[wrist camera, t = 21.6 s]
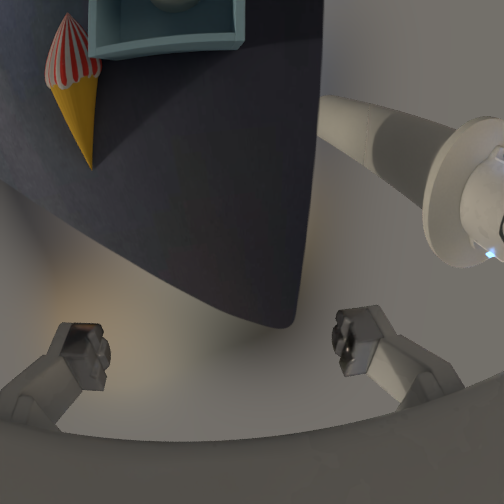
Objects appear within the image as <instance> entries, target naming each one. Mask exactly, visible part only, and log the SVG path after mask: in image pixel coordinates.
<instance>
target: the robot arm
mask: <svg viewBox="0 0 504 504" xmlns="http://www.w3.org/2000/svg"><path fill="white" fill-rule="evenodd" d="M460 220H461V224H462V226H463V228H464V230H465V231H466V233H467V234H468V235H469V239H470V244H471V247H473V248H474V249H476V250H477V249H480V248H484V249H485V250H487V251H488V253H486V255H487V256H488V257H489V258H490V257H493V256H495V257H496V258H497V259H499V260H500V261H502V262H504V147H502V146H500V145H498V146H496V147H495V148H494V150H493V151H492V153H491V155H490V156H489V157H488V158H487V159H486V160H485V161H484V162H482V163H481V164H480V165H479V166H478V167H477V168H476V169H475V170H474V171H473V173H472V174H471V176H470V177H469V179H468V181H467V183H466V185H465V188H464V190H463V194H462V197H461V203H460ZM335 319H336V321H337V325H336V326H335V327H334V328H333V332H332V345H333V349H334V351H335V353H336V354H337V355H338V356H340V357H341V358H340V361H339V364H340V367H341V369H342V371H343V374H344V376H345V377H347V376H354V375H360V374H366V373H367V374H366V375H368V376H369V377H370V378H371V379H372V380H373V381H375V382H376V383H377V384H378V385H379V386H381V387H382V388H383V389H384V390H385V391H386V392H388V393H389V394H390V395H391V396H392V397H394V398H395V399H396V400H397V401H398V402H400V405H399V406H398V408H397V410H396V411H395V412H393V413H389V414H386V415H382V416H378V417H374V418H370V419H366V420H362V421H358V422H354V423H349V424H345V425H340V426H335V427H330V428H324V429H319V430H313V431H307V432H301V433H294V434H287V435H280V436H272V437H262V438H252V439H240V440H225V441H201V442H159V441H136V440H122V439H111V438H101V437H92V436H84V435H77V434H71V433H64V432H61V431H60V430H59V428H58V427H57V426H56V425H55V424H56V422H57V421H58V420H59V419H60V417H61V416H62V415H63V414H64V413H65V411H66V410H67V409H68V408H69V406H71V404H72V403H73V402H74V401H75V399H76V398H77V397H78V396H79V395H80V394H81V392H82V390H92V391H103V390H104V386H105V382H106V378H107V376H106V373H105V370H106V369H107V368H108V367H109V365H110V360H111V352H110V346H109V343H108V341H107V340H106V339H105V338H103V337H102V336H103V333H104V331H103V329H102V327H101V325H100V324H94V323H65V322H64V323H63V322H62V323H61V324H60V325H59V327H58V329H57V331H56V334H55V336H54V338H53V340H52V343H51V345H50V347H49V350H48V352H47V355H42V356H41V357H40V358H39V359H37V360H36V361H35V362H34V363H32V364H31V365H30V366H29V367H28V368H26V369H25V370H24V371H23V372H22V373H20V374H19V375H18V376H17V377H15V378H14V379H13V380H12V381H11V382H10V383H8V384H7V385H6V386H5V387H4V388H3V389H1V391H0V504H504V371H503V372H501V373H499V374H497V375H494V376H492V377H490V378H488V379H486V380H483V381H481V382H479V383H476V384H474V385H472V386H469V387H466V388H465V387H464V385H463V383H462V382H461V380H460V378H459V377H458V375H457V373H456V372H455V370H454V369H453V367H452V365H451V364H450V363H448V362H447V361H445V360H443V359H442V358H440V357H438V356H437V355H435V354H433V353H431V352H430V351H428V350H426V349H425V348H423V347H421V346H420V345H418V344H416V343H414V342H413V341H411V340H409V339H408V338H406V337H404V336H402V335H397V334H396V332H395V330H394V329H393V327H392V325H391V324H390V322H389V320H388V319H387V317H386V316H385V314H384V312H383V311H382V309H381V308H380V306H378V305H373V306H366V307H359V308H352V309H345V310H339V311H338V312H337V314H336V318H335Z"/></svg>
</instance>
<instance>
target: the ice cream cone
mask: <svg viewBox="0 0 504 504" xmlns="http://www.w3.org/2000/svg"><path fill="white" fill-rule="evenodd" d="M101 70H102V61H101V59H99V58H90V57H88V35H87V33H86V32H85V31H84V29H83V28H82V27H81V26H80V24H79V23H78V22H77V21H76V20H75V19H74V18H73V17H72V16H71V15H70V14H69V13H68V12H67V14H66V15H65V17H64V19H63V21H62V23H61V25H60V26H59V28H58V30H57V32H56V35H55V37H54V40H53V42H52V45H51V48H50V51H49V54H48V58H47V62H46V67H45V81H46V84H47V86H48V87H49V88H50V89H51V90H52V92H53V95H54V97H55V99H56V101H57V103H58V105H59V107H60V110H61V112H62V114H63V116H64V118H65V120H66V122H67V124H68V126H69V128H70V130H71V132H72V134H73V136H74V138H75V140H76V142H77V144H78V146H79V147H80V149H81V151H82V153H83V155H84V157H85V159H86V161H87V163H88V164H89V166H90V168H91V170H92V154H93V129H94V114H95V101H96V91H97V82H98V76H99V74H100V73H101Z"/></svg>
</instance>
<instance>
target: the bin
mask: <svg viewBox="0 0 504 504" xmlns="http://www.w3.org/2000/svg"><path fill="white" fill-rule="evenodd" d="M244 41H245V0H200V1H199V2H198V4H196V5H195V6H194V7H192V8H191V9H189V10H186V11H183V12H178V13H169V12H165V11H162V10H160V9H158V8H157V7H156V6H155V5H154V4H153V3H152V2H151V1H150V0H89V14H88V57H90V58H99V59H107V60H114V61H118V60H124V59H130V58H137V57H144V56H151V55H160V54H169V53H180V52H193V51H212V50H238V48H239V47H240V46H241V45H242V44H243V42H244Z"/></svg>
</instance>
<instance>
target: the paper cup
mask: <svg viewBox="0 0 504 504" xmlns="http://www.w3.org/2000/svg"><path fill="white" fill-rule="evenodd" d="M150 1H151V2H152V3H153V4H154V5H155V6H156V7H157V8H158V9H160V10H162V11H165V12H169V13H178V12H183V11H186V10H189V9H191V8H192V7H194V6H195V5H196V4H198V2H199V1H200V0H150Z"/></svg>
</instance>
